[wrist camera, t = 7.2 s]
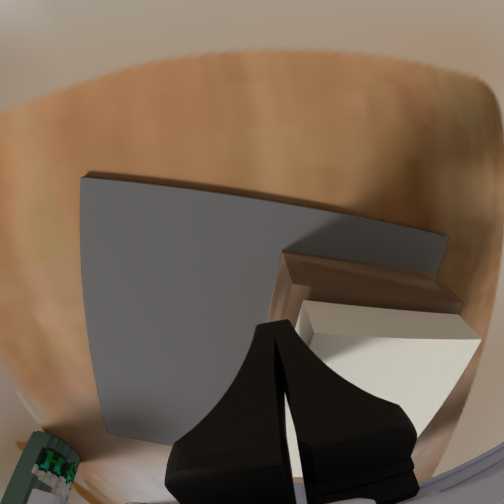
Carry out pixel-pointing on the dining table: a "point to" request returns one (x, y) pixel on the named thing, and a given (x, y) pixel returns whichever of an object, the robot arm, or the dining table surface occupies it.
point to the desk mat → (199, 289)
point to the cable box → (354, 288)
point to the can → (42, 469)
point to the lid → (387, 356)
